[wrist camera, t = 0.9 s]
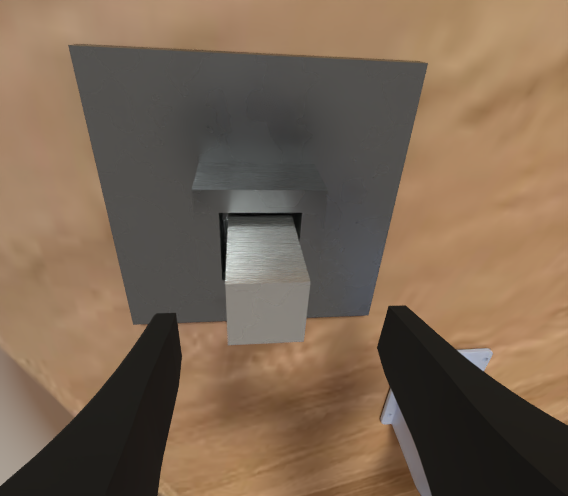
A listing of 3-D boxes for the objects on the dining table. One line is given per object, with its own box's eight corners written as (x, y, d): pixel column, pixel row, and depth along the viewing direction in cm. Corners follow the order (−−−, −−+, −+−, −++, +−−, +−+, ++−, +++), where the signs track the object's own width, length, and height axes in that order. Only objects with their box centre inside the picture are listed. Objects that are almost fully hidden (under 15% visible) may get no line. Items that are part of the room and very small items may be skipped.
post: (283, 240, 21) (304, 342, 14) (229, 240, 21) (226, 346, 14) (286, 190, 19) (312, 280, 13) (228, 190, 19) (223, 283, 12)
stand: (364, 305, 26) (385, 353, 23) (136, 314, 24) (118, 367, 21) (418, 61, 18) (467, 72, 14) (77, 43, 16) (27, 51, 12)
